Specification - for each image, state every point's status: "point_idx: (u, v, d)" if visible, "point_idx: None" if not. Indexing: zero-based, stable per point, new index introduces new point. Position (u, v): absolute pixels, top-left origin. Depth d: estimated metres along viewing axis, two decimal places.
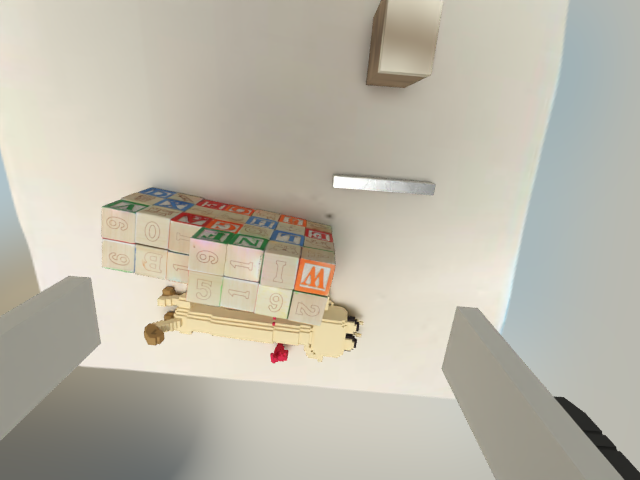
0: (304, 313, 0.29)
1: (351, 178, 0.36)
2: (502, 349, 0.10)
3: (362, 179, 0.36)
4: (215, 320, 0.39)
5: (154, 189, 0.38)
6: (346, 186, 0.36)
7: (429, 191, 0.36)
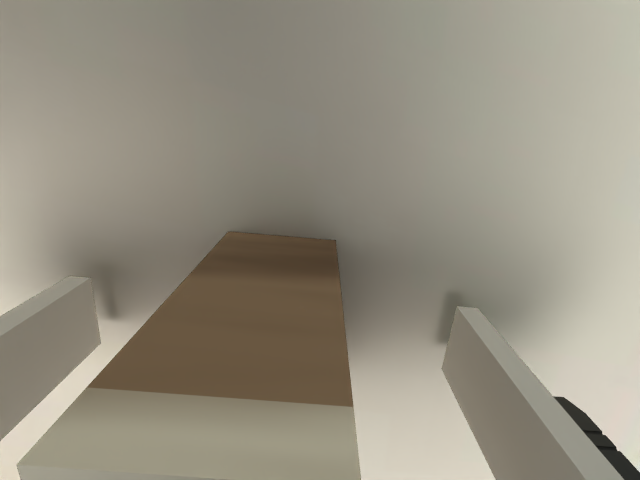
0: None
1: None
2: (502, 349, 0.10)
3: None
4: None
5: None
6: None
7: None
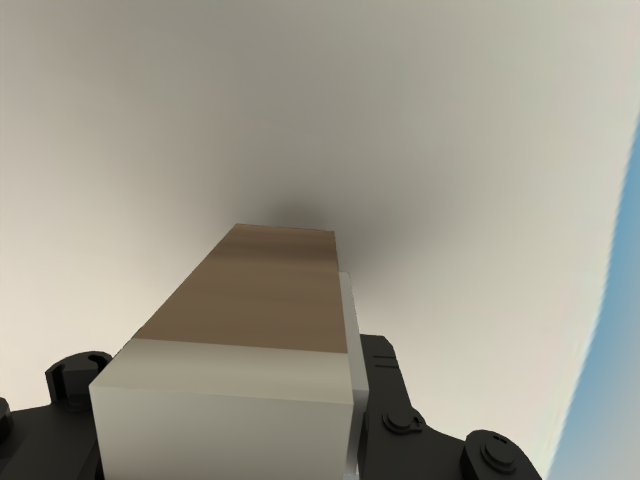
0: None
1: None
2: (344, 300, 0.12)
3: None
4: None
5: None
6: None
7: None
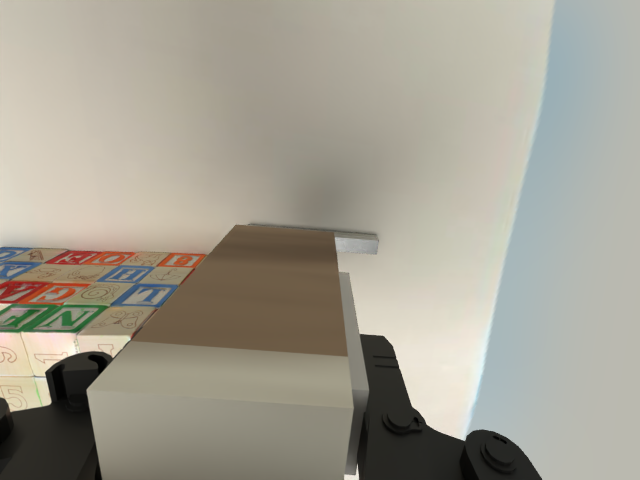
0: None
1: None
2: (344, 300, 0.12)
3: None
4: None
5: (2, 249, 0.29)
6: None
7: (371, 249, 0.27)
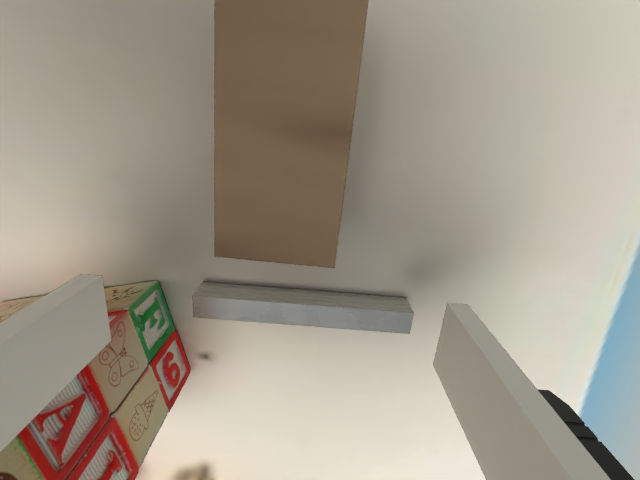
0: None
1: (230, 300, 0.16)
2: (490, 344, 0.10)
3: (254, 302, 0.17)
4: None
5: None
6: (221, 315, 0.17)
7: (401, 326, 0.17)
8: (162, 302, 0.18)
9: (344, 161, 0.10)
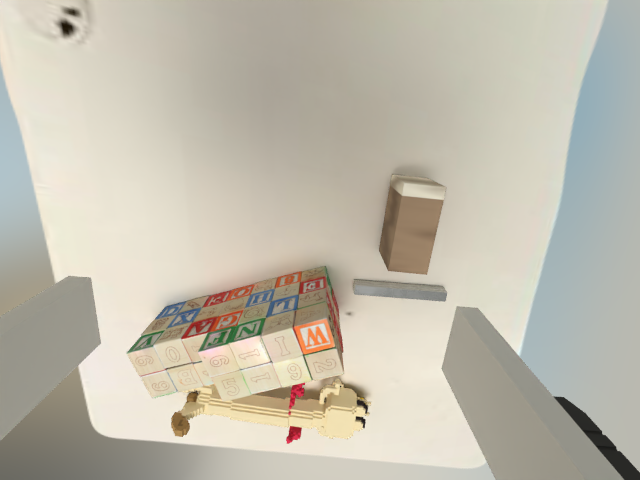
0: (324, 369, 0.31)
1: (371, 287, 0.39)
2: (502, 349, 0.10)
3: (381, 288, 0.39)
4: (235, 407, 0.42)
5: (168, 307, 0.42)
6: (366, 293, 0.40)
7: (441, 298, 0.40)
8: (327, 275, 0.41)
9: (433, 242, 0.33)
